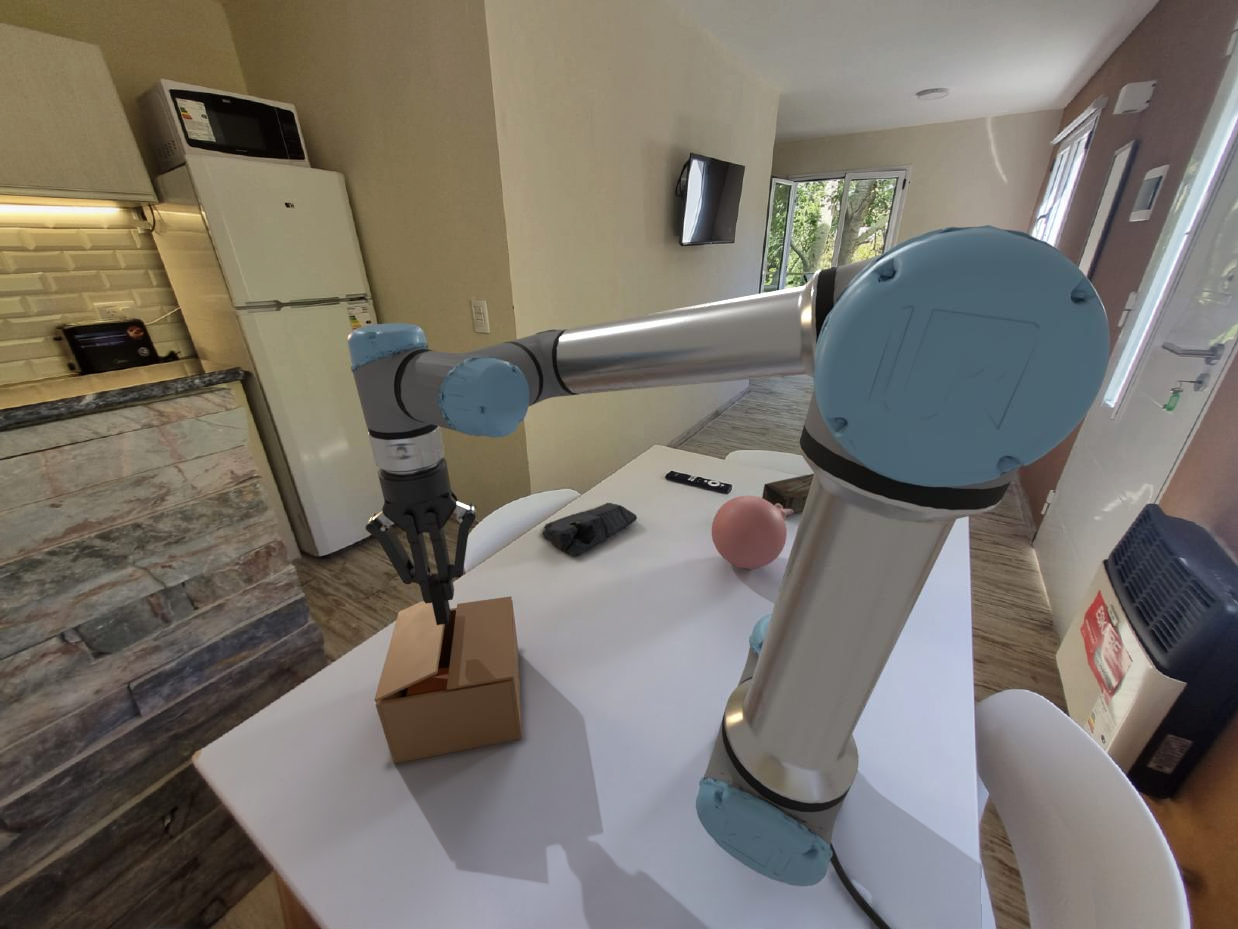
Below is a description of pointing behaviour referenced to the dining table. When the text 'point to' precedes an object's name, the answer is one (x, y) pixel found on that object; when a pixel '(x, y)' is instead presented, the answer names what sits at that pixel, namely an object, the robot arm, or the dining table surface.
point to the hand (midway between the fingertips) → (443, 617)
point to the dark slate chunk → (588, 527)
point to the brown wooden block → (789, 492)
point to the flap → (411, 650)
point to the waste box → (462, 688)
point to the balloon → (750, 531)
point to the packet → (430, 683)
